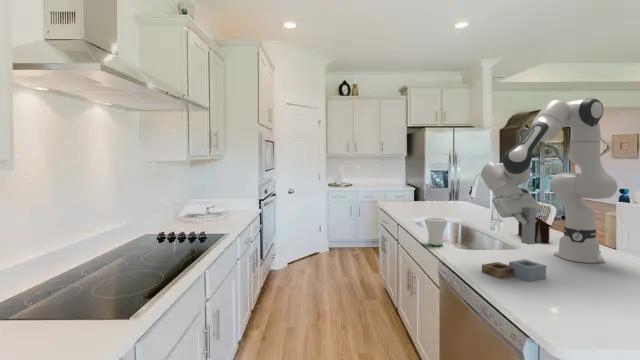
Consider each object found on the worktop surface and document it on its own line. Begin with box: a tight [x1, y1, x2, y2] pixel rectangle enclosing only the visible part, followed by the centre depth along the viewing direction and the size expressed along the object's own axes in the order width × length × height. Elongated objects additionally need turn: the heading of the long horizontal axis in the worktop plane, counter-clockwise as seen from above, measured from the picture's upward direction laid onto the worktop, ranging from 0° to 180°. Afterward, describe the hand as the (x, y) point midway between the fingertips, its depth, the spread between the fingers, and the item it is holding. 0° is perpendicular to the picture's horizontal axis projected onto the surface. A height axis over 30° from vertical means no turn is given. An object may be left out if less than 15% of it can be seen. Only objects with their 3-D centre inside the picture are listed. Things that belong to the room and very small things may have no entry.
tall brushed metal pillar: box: [521, 207, 537, 245], centre depth 139 cm, size 3×3×14 cm
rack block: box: [508, 259, 547, 282], centre depth 140 cm, size 9×9×5 cm
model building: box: [516, 215, 552, 244], centre depth 201 cm, size 21×12×15 cm, turn 166°
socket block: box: [481, 261, 515, 280], centre depth 143 cm, size 9×9×3 cm
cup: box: [424, 216, 448, 248], centre depth 189 cm, size 11×11×14 cm
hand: (530, 223), depth 138 cm, fingers closed on tall brushed metal pillar, 3 cm apart
